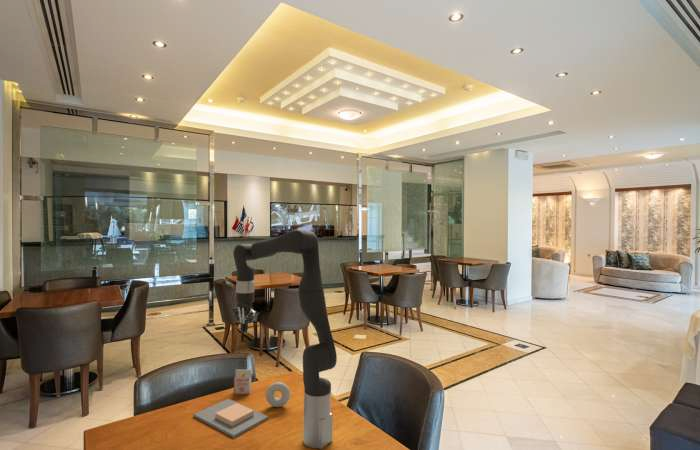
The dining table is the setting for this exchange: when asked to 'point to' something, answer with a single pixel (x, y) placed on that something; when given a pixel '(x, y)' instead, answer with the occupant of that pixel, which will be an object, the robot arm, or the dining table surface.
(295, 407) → the dining table surface
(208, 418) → the board
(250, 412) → the tile
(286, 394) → the donut
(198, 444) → the dining table surface
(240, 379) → the white printed carton
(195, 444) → the dining table surface
